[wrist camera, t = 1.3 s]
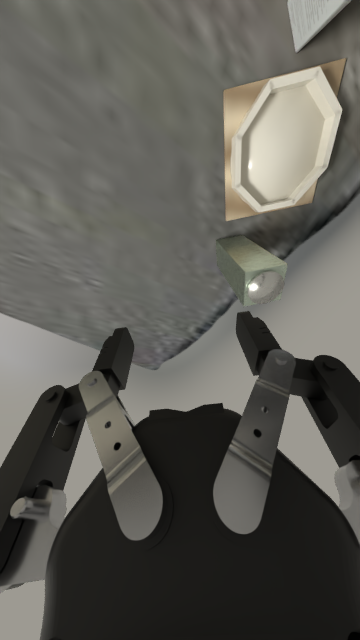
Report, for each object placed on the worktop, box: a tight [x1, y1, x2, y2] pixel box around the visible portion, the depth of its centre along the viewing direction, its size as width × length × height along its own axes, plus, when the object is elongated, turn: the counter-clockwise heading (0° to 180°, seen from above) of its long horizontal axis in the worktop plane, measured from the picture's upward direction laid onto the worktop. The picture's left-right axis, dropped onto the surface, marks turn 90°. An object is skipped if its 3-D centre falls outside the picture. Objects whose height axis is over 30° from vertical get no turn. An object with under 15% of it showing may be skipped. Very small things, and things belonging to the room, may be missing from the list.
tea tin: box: [216, 235, 288, 306], centre depth 28 cm, size 5×5×17 cm
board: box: [224, 58, 346, 221], centre depth 27 cm, size 15×15×1 cm
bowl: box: [230, 66, 342, 212], centre depth 25 cm, size 14×14×3 cm
